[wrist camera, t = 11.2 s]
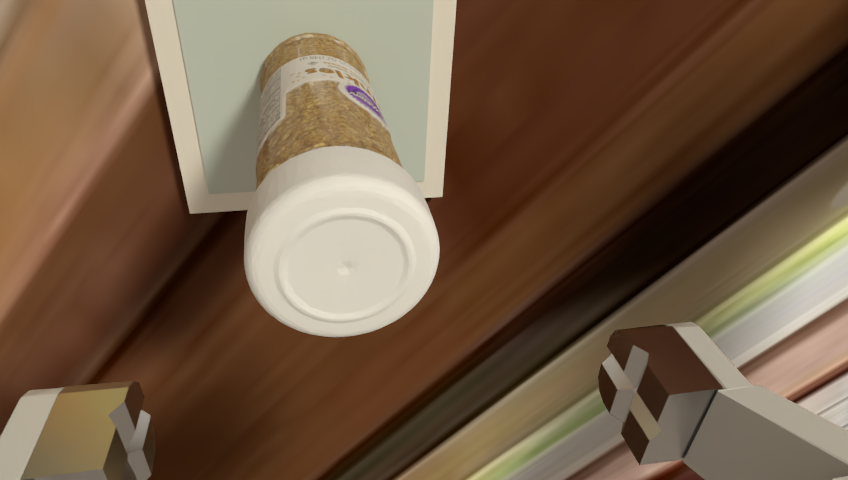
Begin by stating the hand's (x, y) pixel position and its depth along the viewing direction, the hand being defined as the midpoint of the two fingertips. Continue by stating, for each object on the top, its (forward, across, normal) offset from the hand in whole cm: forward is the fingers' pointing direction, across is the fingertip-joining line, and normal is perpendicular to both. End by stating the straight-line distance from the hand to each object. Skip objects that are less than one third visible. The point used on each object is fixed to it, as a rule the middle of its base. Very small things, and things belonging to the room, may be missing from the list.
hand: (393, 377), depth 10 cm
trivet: (+18, +1, 0) cm, 18 cm away
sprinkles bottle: (+17, +1, 0) cm, 17 cm away
